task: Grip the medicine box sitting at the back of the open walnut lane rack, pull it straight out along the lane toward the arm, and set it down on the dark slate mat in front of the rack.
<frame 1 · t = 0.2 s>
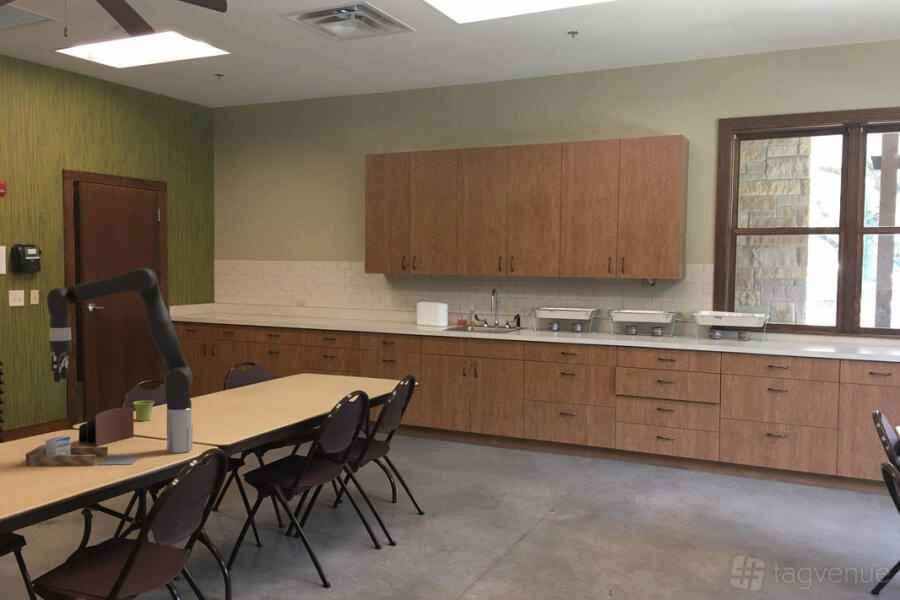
hand: (60, 380, 288), 28 cm above the table, fingers open, 8 cm apart
plant pot: (143, 420, 352), on the table
lane rack: (68, 460, 277), on the table
letter holder: (106, 441, 310), on the table
slate mat: (120, 460, 279), on the table
medicine box: (58, 461, 277), resting in lane rack
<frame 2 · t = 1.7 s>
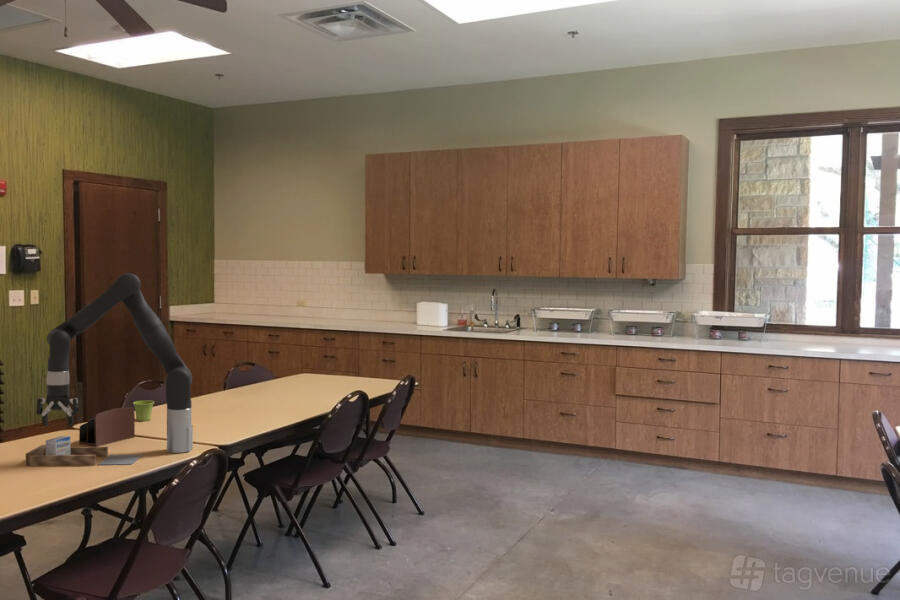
hand: (57, 425, 276), 13 cm above the table, fingers open, 8 cm apart
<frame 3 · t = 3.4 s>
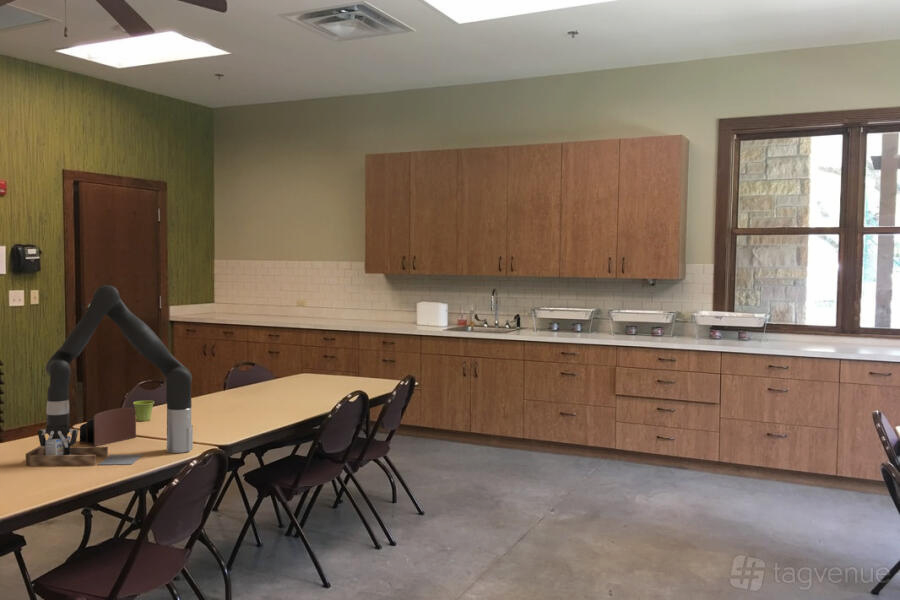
hand: (58, 456, 277), 2 cm above the table, fingers closed on medicine box, 5 cm apart
medicine box: (58, 461, 277), resting in lane rack, touching gripper
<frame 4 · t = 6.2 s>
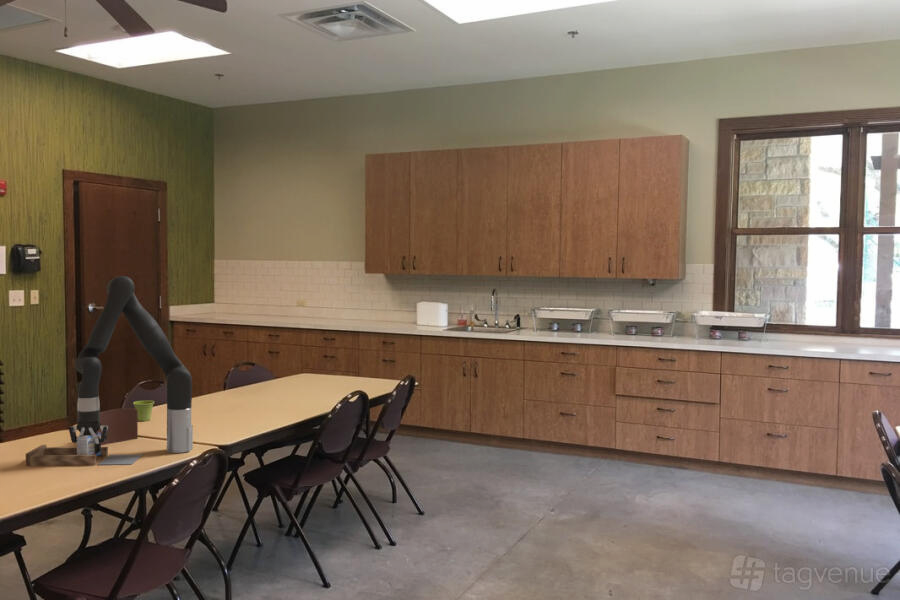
hand: (89, 453, 278), 3 cm above the table, fingers closed on medicine box, 5 cm apart
medicine box: (89, 457, 278), point 1 cm above the table, touching gripper
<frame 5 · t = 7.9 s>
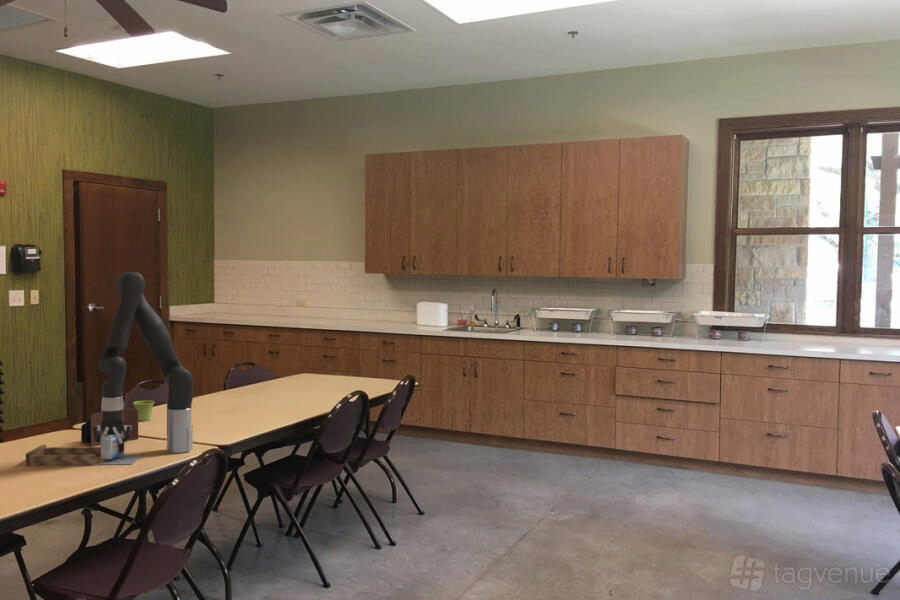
hand: (112, 452, 279), 3 cm above the table, fingers closed on medicine box, 5 cm apart
medicine box: (112, 457, 279), point 1 cm above the table, touching gripper
when the fingers open (3 cm above the table, at t = 9.1 s): medicine box drops 1 cm, resting on slate mat.
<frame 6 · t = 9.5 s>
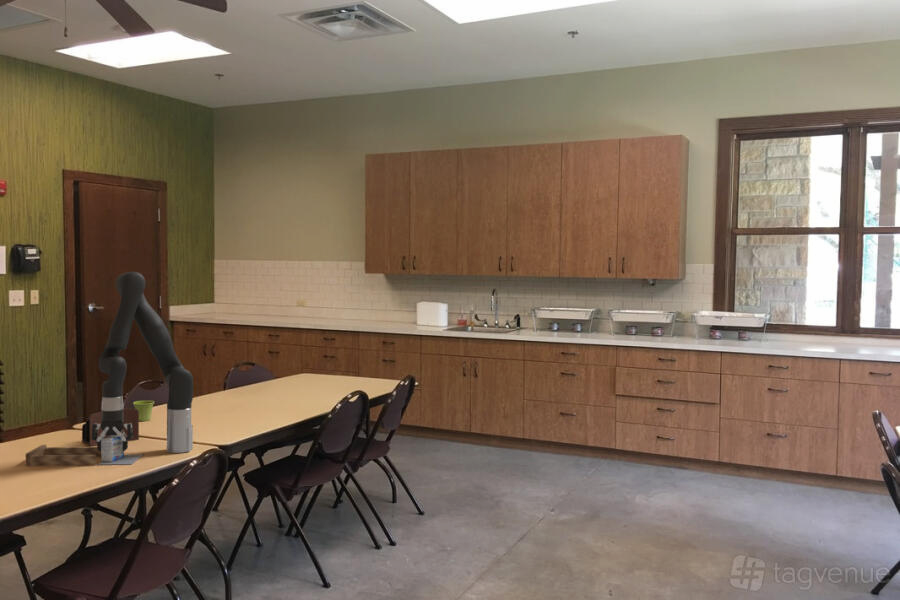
hand: (112, 450, 279), 4 cm above the table, fingers open, 8 cm apart
medicine box: (112, 459, 279), resting on slate mat
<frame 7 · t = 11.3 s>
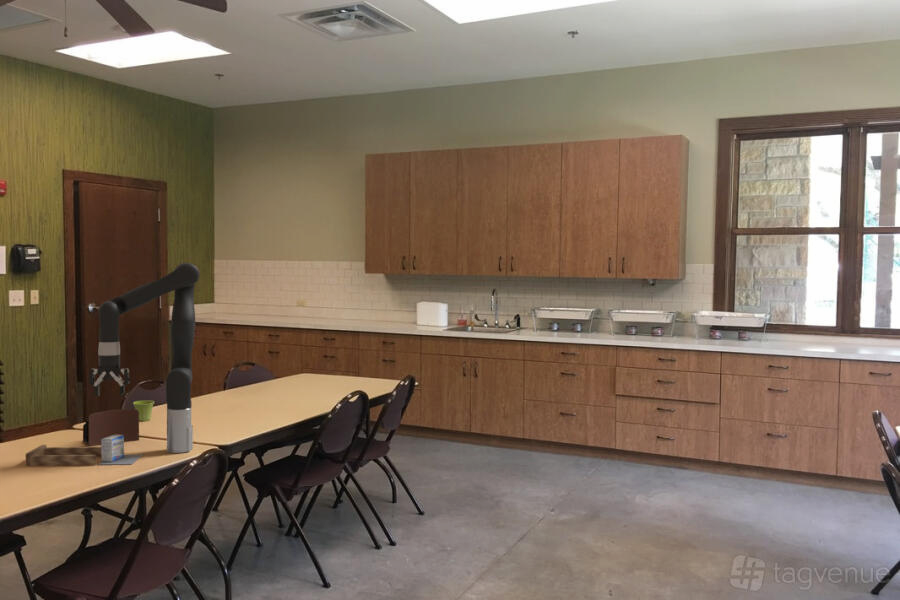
hand: (109, 395, 283), 24 cm above the table, fingers open, 8 cm apart
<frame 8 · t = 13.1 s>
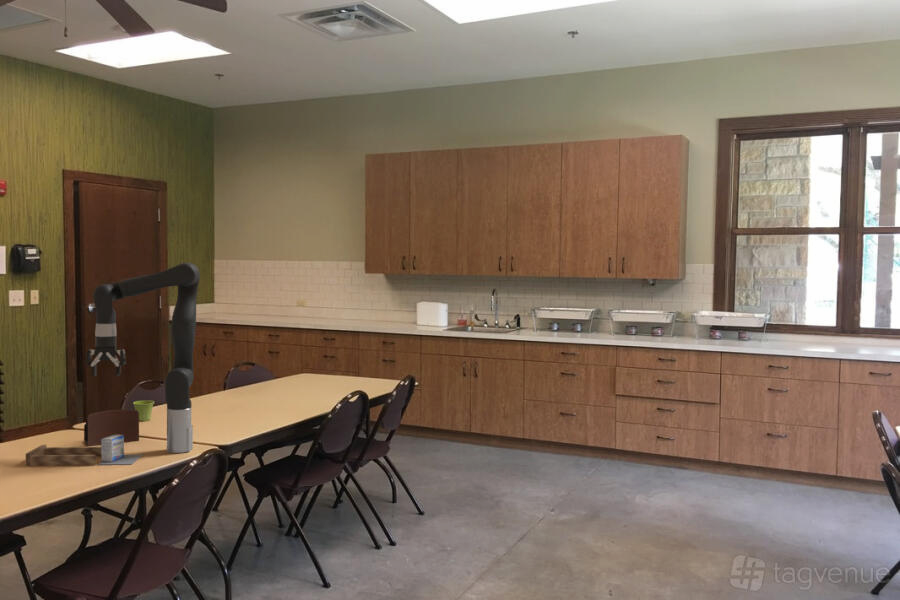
hand: (106, 375, 291), 30 cm above the table, fingers open, 8 cm apart
at the end: medicine box inside the target area (2.9 cm from its centre), resting on slate mat; medicine box tilted 0°; the gripper is holding nothing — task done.
